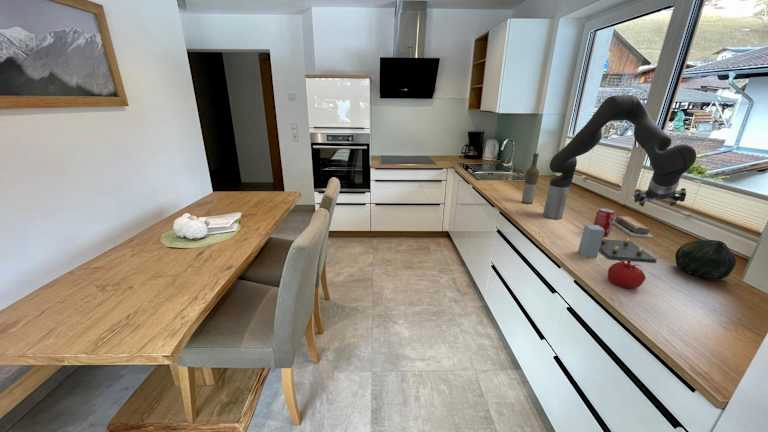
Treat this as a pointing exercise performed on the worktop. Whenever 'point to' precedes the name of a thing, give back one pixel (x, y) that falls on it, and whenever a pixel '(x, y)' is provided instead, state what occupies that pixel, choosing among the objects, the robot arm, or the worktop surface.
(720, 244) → the squash
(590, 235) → the block
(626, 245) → the plate
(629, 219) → the packaged product
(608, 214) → the soda can
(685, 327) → the worktop surface
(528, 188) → the bottle
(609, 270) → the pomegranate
